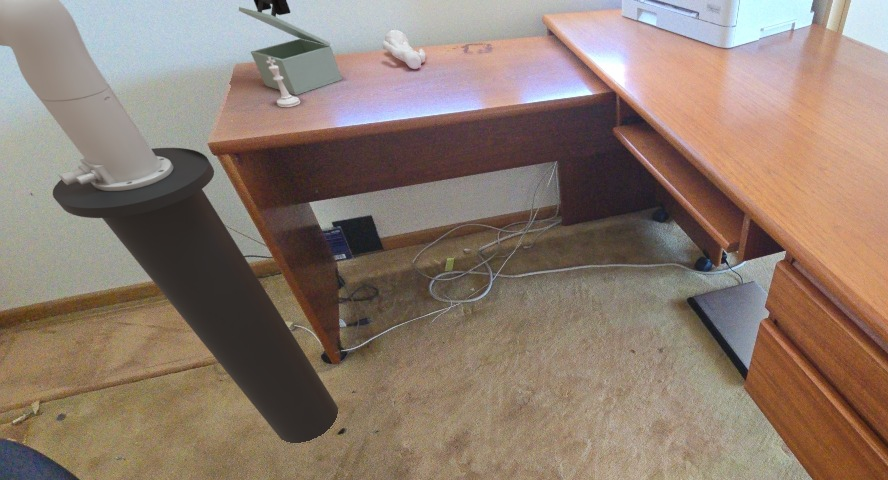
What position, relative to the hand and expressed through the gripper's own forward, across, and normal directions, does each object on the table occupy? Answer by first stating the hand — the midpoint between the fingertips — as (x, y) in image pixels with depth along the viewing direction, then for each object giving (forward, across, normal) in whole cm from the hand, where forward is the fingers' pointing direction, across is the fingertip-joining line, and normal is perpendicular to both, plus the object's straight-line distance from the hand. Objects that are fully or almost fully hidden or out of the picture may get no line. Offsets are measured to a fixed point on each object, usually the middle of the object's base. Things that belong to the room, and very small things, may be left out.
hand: (274, 10), depth 121 cm
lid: (+4, 0, +1) cm, 4 cm away
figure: (+15, +8, +28) cm, 33 cm away
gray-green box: (+16, 0, +1) cm, 16 cm away
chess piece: (+16, +9, -10) cm, 21 cm away
